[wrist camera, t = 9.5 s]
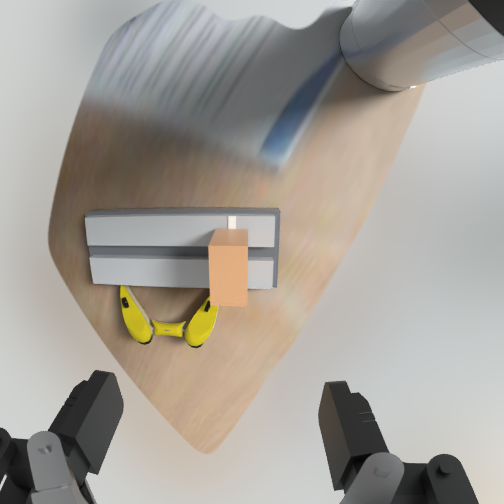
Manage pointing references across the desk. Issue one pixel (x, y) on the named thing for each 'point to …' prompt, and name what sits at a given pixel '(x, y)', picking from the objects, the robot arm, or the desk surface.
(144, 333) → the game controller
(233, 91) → the desk surface
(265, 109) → the desk surface
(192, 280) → the fader track
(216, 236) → the cap
